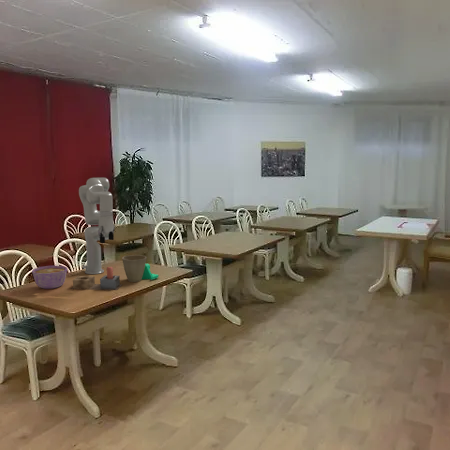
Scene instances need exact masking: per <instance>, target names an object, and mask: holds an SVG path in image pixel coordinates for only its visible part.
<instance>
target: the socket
mask: <svg viewBox="0 0 450 450" xmlns="http://www.w3.org/2000/svg"><path fill="white" fill-rule="evenodd" d="M99 284H100V289H116V288H117V287H118V286H119V285H121V284H120V275H113V279H108V278H107V274H106V275H103V276H102V277H101V278H100V279H99Z"/></svg>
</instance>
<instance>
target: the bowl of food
mask: <svg viewBox="0 0 450 450" xmlns="http://www.w3.org/2000/svg"><path fill="white" fill-rule="evenodd" d="M31 273H32V276H33V280H34V281H35V284H36V285H37V287H39V288H41V289H44V290H51V289H56V288H60V287H61V286H63V285H64V283H65V280H66V277H67V273H68V267H67V266H63V265H46V266H45V265H44V266H38V267H36V268H33V269H31Z"/></svg>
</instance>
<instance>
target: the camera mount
mask: <svg viewBox="0 0 450 450" xmlns="http://www.w3.org/2000/svg"><path fill="white" fill-rule="evenodd" d="M158 278H159V274H157V273H156V274H155V273H152V272H151V265H150V264H149V263H145V269H144V273H143V276H142V279H141V280H150V281H151V280H156V279H158Z"/></svg>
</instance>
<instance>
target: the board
mask: <svg viewBox="0 0 450 450" xmlns="http://www.w3.org/2000/svg"><path fill="white" fill-rule="evenodd" d="M122 286H123V284H120V285H119V286H118V287H117V288H116V289H100V283H95V285H94V286H92V287H91V288H90V289H88V290H93V291H94V290H96V291H99V290H100V291H118V290H119V289H120V288H121V287H122ZM70 290H83V289H82V288H73V287H71V288H70Z"/></svg>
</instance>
